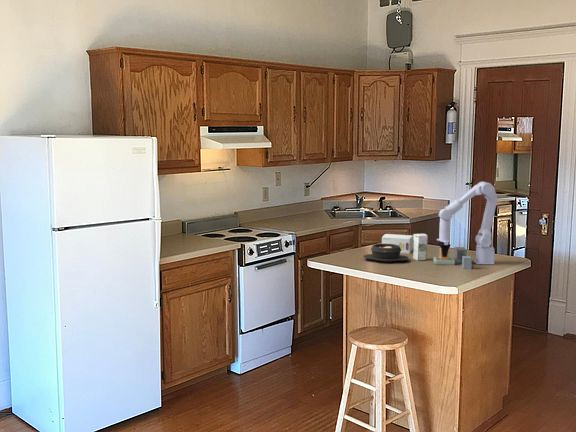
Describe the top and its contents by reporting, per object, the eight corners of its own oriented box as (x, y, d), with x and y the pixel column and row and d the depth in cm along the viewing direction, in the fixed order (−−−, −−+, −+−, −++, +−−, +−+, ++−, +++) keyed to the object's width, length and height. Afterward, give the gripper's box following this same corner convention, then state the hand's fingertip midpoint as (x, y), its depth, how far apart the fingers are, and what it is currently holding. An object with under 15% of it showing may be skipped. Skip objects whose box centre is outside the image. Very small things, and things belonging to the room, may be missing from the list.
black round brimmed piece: (361, 262, 342) (361, 247, 341) (365, 256, 360) (365, 242, 359) (407, 265, 336) (408, 249, 335) (409, 258, 354) (409, 243, 353)
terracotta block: (446, 258, 343) (447, 247, 342) (448, 259, 339) (448, 248, 338) (439, 258, 343) (439, 247, 342) (440, 259, 339) (440, 248, 338)
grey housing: (464, 260, 347) (465, 246, 346) (468, 264, 337) (468, 250, 336) (451, 260, 348) (452, 246, 347) (455, 264, 337) (455, 250, 336)
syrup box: (421, 258, 354) (422, 233, 352) (426, 260, 348) (427, 234, 346) (412, 259, 352) (413, 233, 350) (417, 261, 347) (418, 235, 345)
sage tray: (451, 261, 346) (451, 257, 345) (454, 265, 336) (454, 261, 336) (433, 261, 347) (433, 257, 346) (435, 264, 337) (435, 260, 336)
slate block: (469, 267, 330) (470, 256, 329) (471, 269, 326) (471, 257, 325) (462, 267, 331) (462, 256, 330) (463, 268, 327) (463, 257, 326)
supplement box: (381, 252, 374) (381, 236, 372) (385, 248, 386) (385, 233, 385) (409, 254, 368) (410, 238, 367) (413, 250, 380) (413, 234, 379)
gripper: (435, 229, 346) (434, 253, 348) (439, 233, 332) (438, 258, 334) (448, 229, 346) (447, 253, 348) (452, 233, 332) (451, 258, 333)
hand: (443, 255), depth 341 cm, fingers closed on terracotta block, 4 cm apart
